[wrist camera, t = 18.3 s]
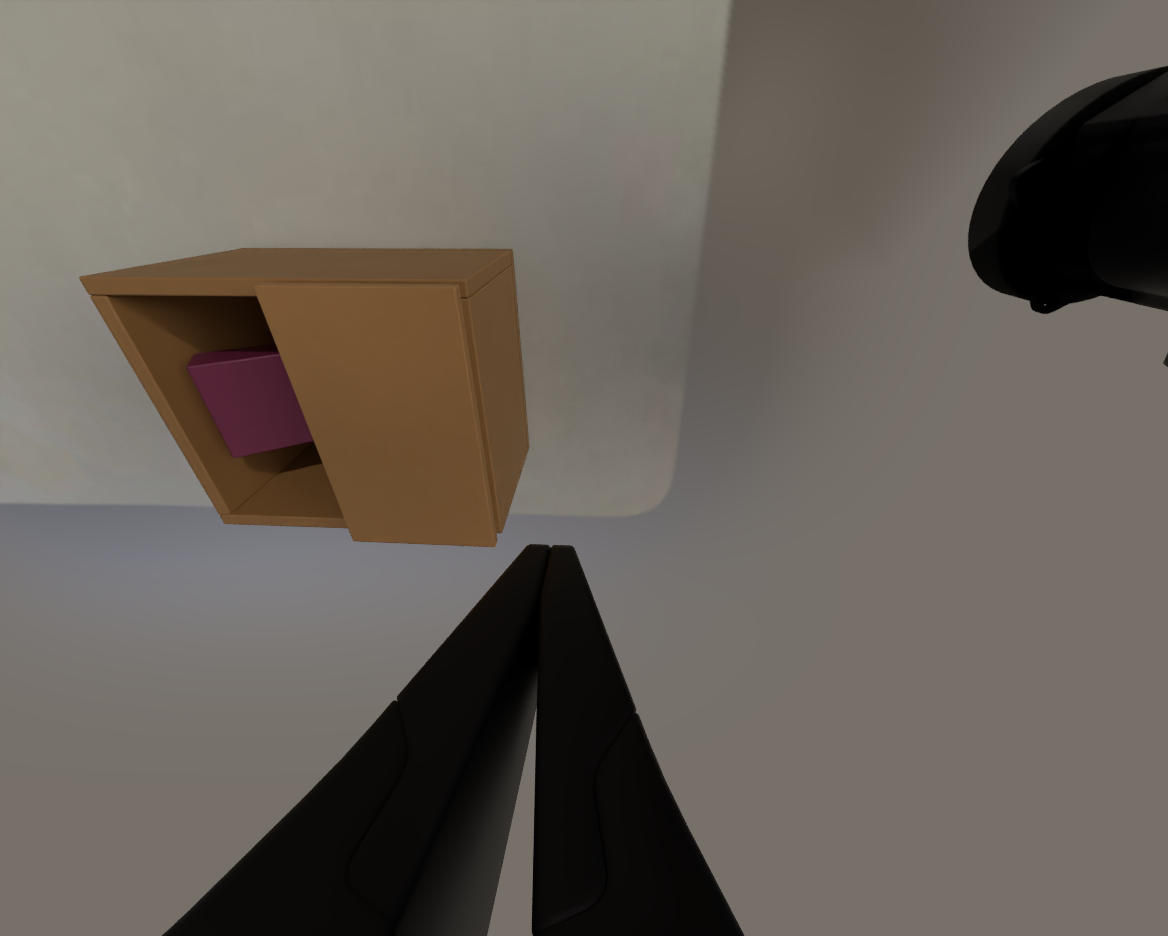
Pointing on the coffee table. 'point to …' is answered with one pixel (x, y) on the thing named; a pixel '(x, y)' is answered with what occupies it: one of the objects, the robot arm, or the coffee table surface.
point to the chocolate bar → (250, 399)
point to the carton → (235, 320)
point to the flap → (388, 405)
